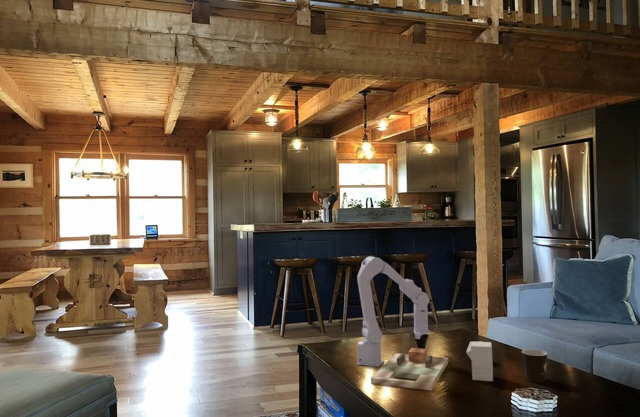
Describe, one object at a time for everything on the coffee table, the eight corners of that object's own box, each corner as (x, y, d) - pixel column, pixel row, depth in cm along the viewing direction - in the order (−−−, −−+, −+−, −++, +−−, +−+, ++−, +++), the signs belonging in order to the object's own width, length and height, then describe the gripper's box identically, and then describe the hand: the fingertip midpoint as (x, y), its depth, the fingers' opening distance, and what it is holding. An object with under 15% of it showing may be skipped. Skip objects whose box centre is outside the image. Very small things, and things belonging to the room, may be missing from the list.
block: (408, 361, 203) (408, 351, 203) (412, 357, 208) (411, 347, 208) (423, 362, 200) (423, 352, 200) (426, 358, 206) (426, 349, 206)
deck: (371, 383, 183) (370, 371, 183) (395, 358, 215) (395, 347, 215) (431, 390, 174) (431, 377, 174) (448, 362, 206) (447, 351, 206)
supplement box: (493, 375, 189) (492, 341, 189) (493, 381, 182) (492, 346, 182) (472, 374, 191) (471, 340, 191) (471, 380, 184) (470, 345, 184)
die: (485, 366, 202) (494, 345, 205) (466, 355, 204) (475, 334, 207) (479, 368, 210) (488, 347, 213) (460, 357, 211) (469, 337, 214)
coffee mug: (537, 385, 177) (536, 356, 177) (517, 378, 185) (516, 351, 185) (559, 379, 182) (558, 352, 182) (539, 373, 190) (538, 347, 190)
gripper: (426, 324, 203) (427, 357, 203) (433, 317, 217) (434, 348, 217) (409, 322, 206) (410, 356, 206) (417, 316, 220) (418, 347, 219)
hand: (421, 352), depth 211 cm, fingers closed
